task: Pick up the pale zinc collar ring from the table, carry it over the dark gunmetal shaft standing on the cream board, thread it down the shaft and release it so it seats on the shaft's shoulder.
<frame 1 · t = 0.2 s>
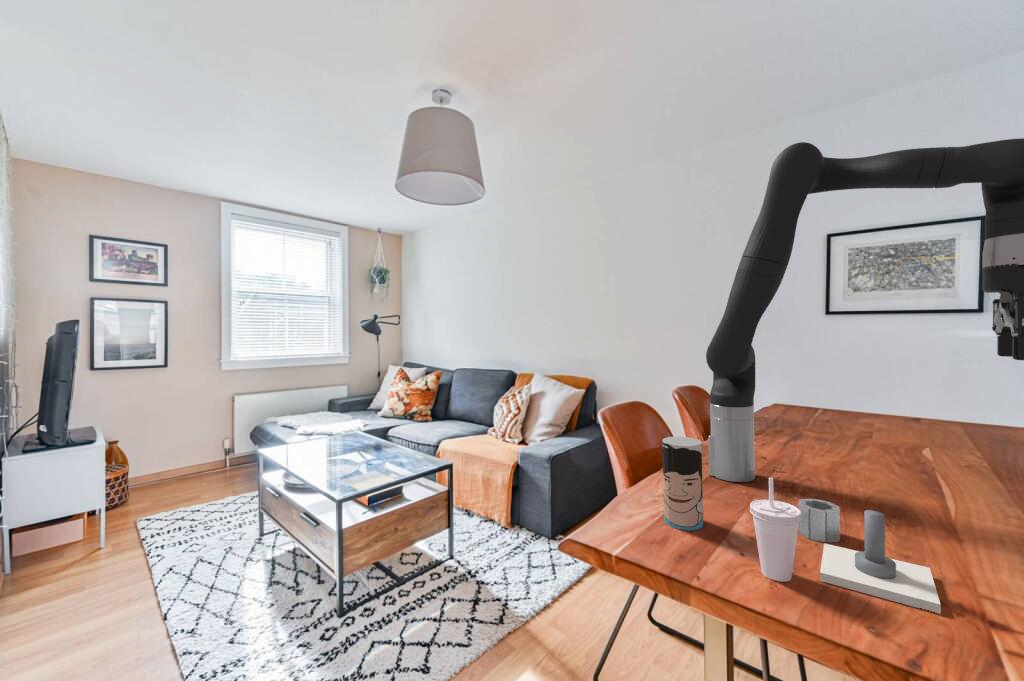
hand: (1014, 358, 74), 29 cm above the table, fingers open, 8 cm apart
shaft block: (875, 578, 60), on the table
ring: (819, 534, 73), on the table
cup: (683, 522, 79), on the table
smoothie: (776, 575, 62), on the table
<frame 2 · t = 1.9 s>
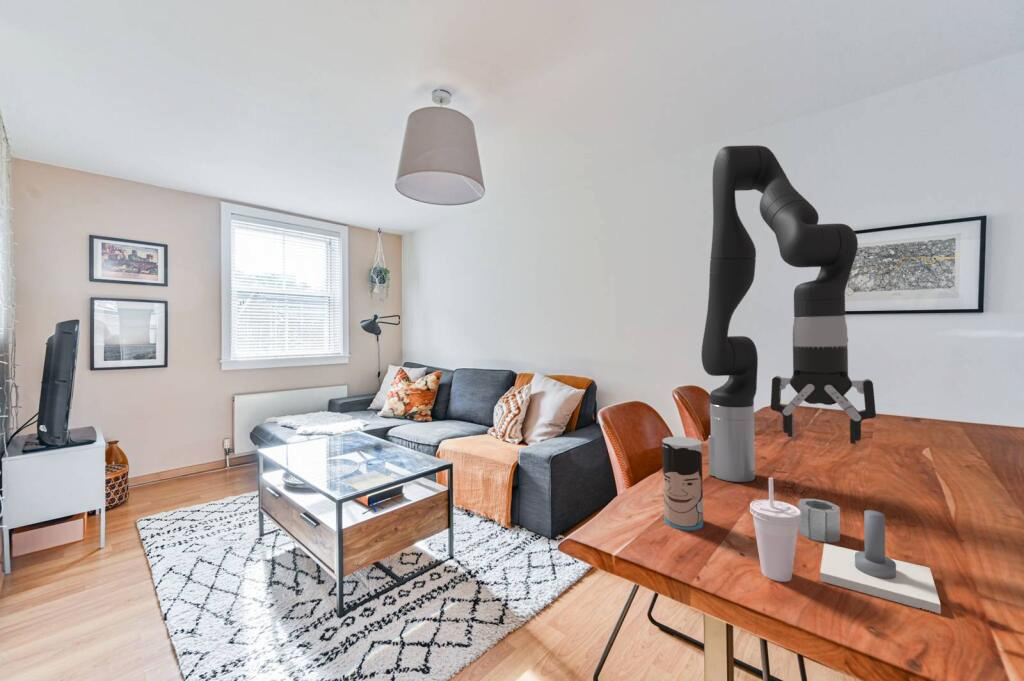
hand: (820, 439, 73), 16 cm above the table, fingers open, 8 cm apart
nothing on the table moved.
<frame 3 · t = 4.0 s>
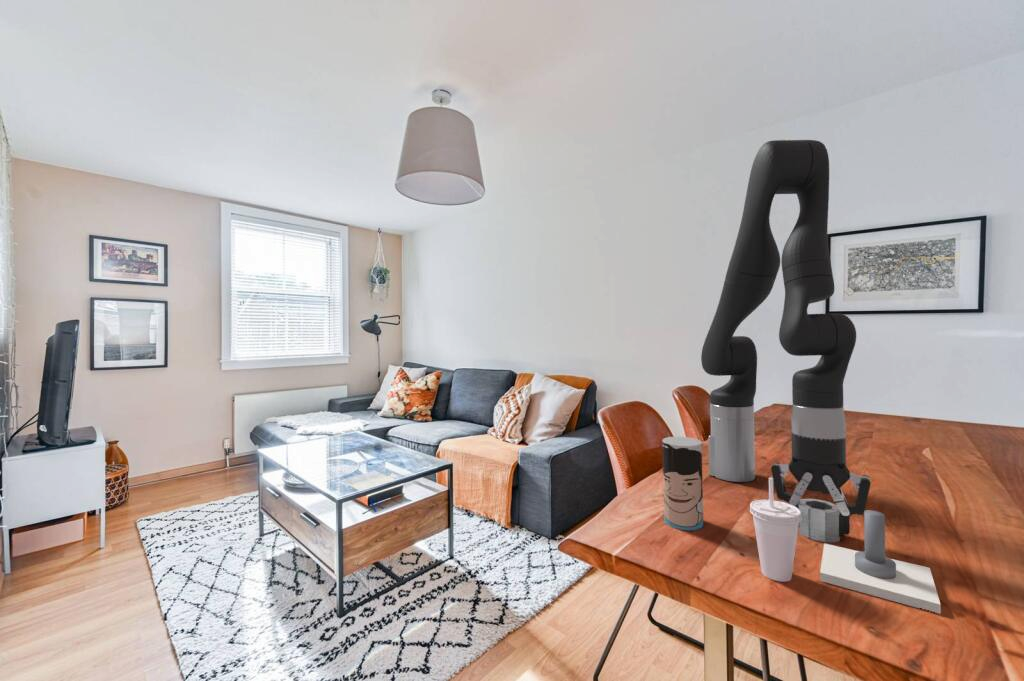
hand: (819, 530, 73), 1 cm above the table, fingers closed on ring, 5 cm apart
ring: (819, 534, 73), on the table, touching gripper
everything else where it was.
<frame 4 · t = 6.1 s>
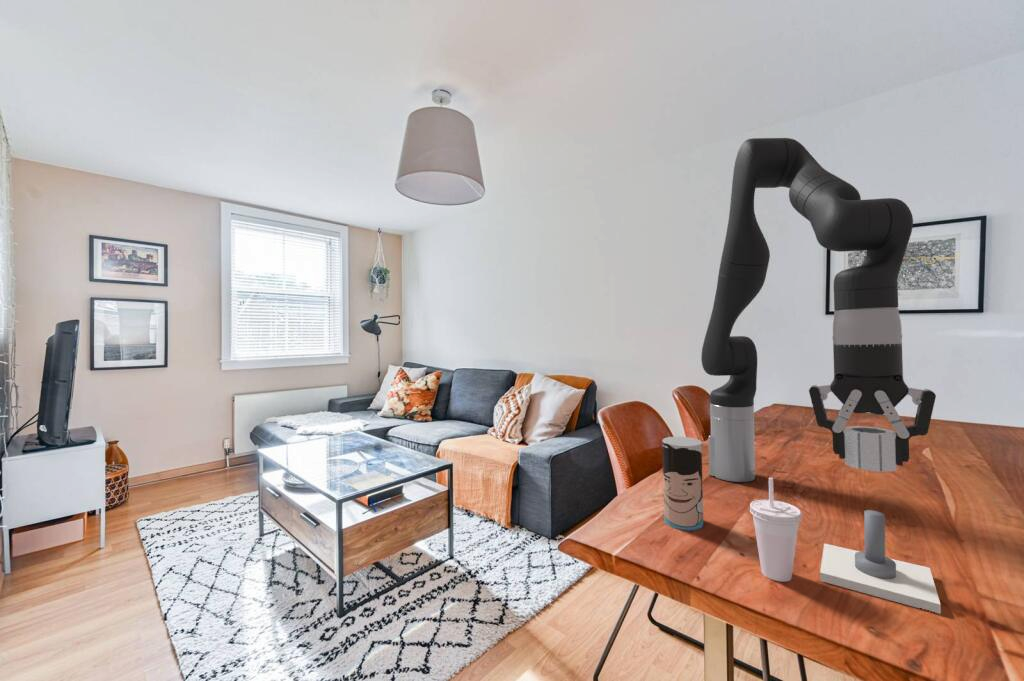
hand: (869, 460, 61), 16 cm above the table, fingers closed on ring, 5 cm apart
ring: (869, 465, 61), point 16 cm above the table, touching gripper
everything else where it was.
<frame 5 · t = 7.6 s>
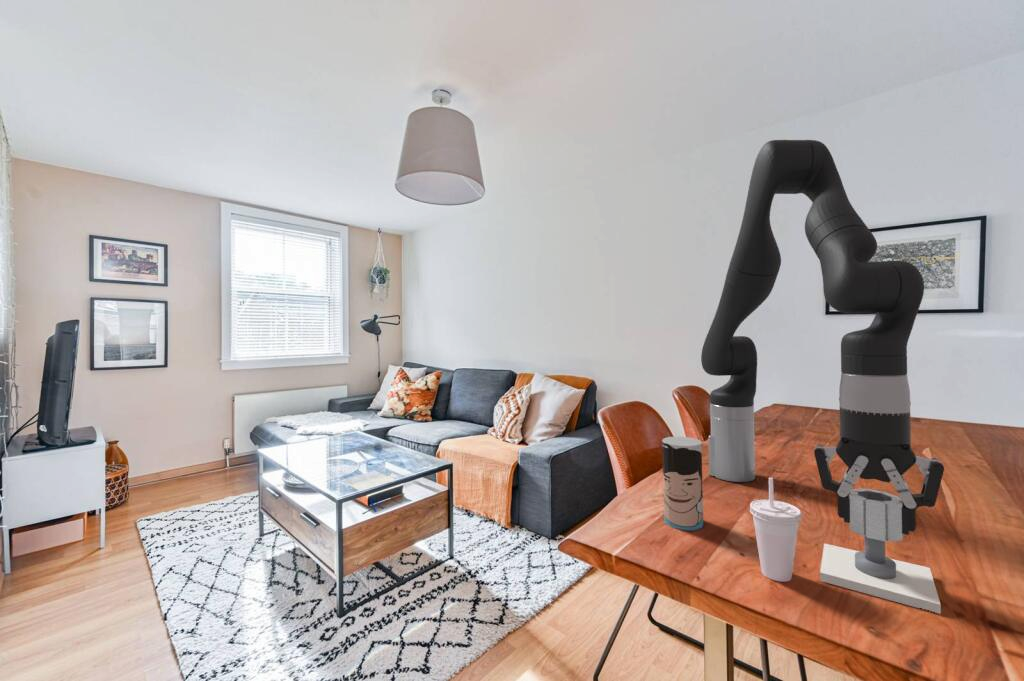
hand: (875, 526, 60), 7 cm above the table, fingers closed on ring, 5 cm apart
ring: (875, 531, 60), point 7 cm above the table, touching gripper
everything else where it was.
when the fingers open (5 cm above the table, at t = 8.5 s): ring drops 2 cm, resting on shaft block.
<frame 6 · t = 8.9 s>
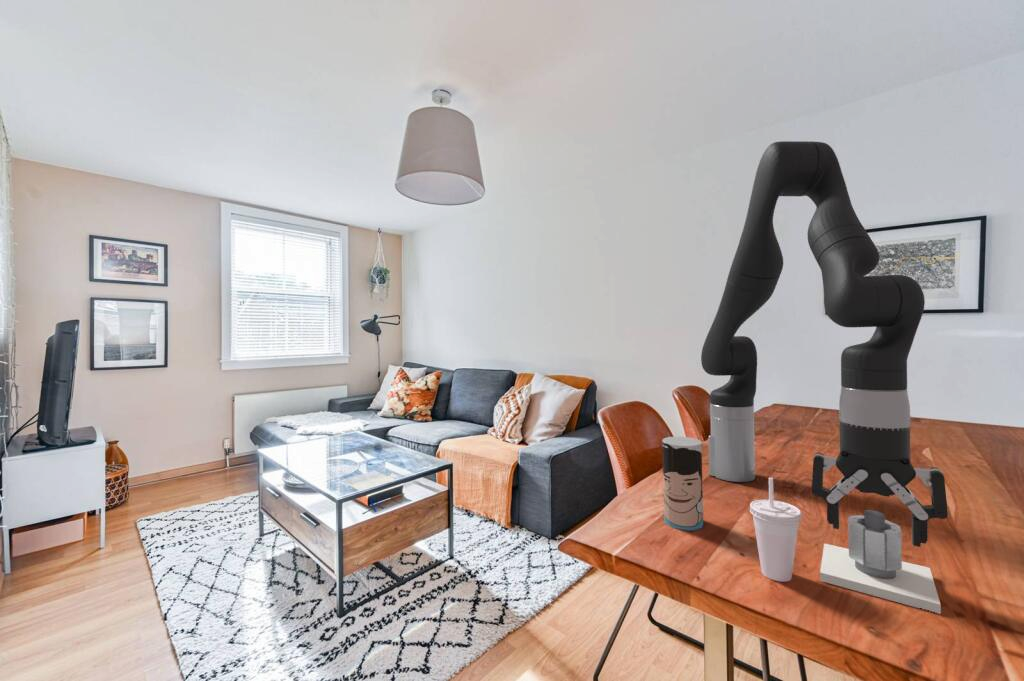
hand: (874, 535, 60), 6 cm above the table, fingers open, 8 cm apart
ring: (874, 559, 60), point 3 cm above the table, touching shaft block
everything else where it was.
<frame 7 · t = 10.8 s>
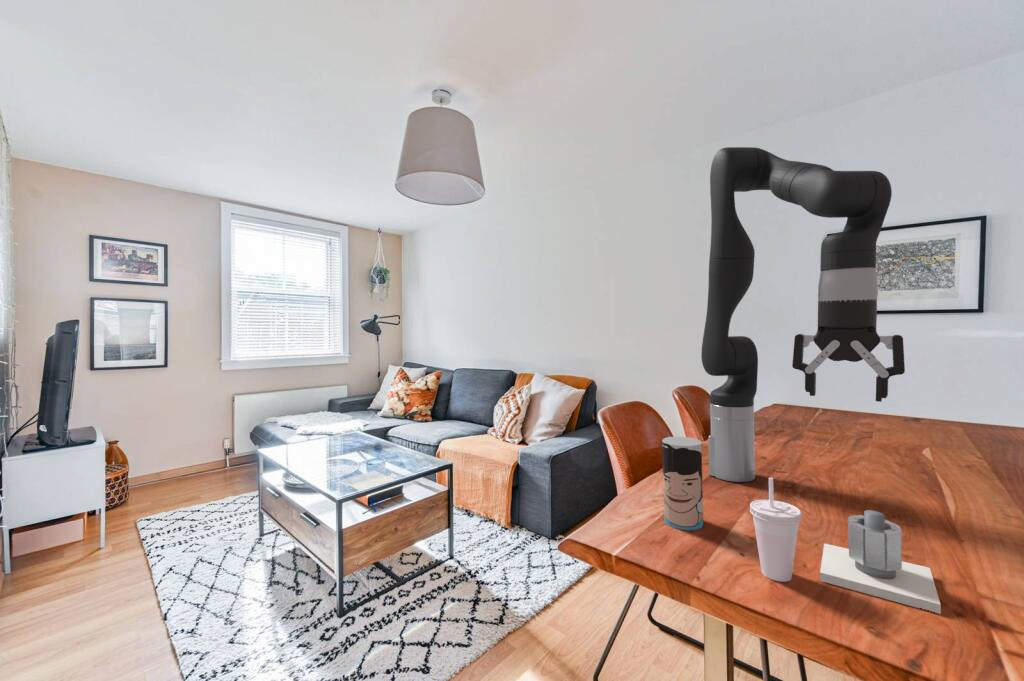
hand: (844, 397, 70), 24 cm above the table, fingers open, 8 cm apart
nothing on the table moved.
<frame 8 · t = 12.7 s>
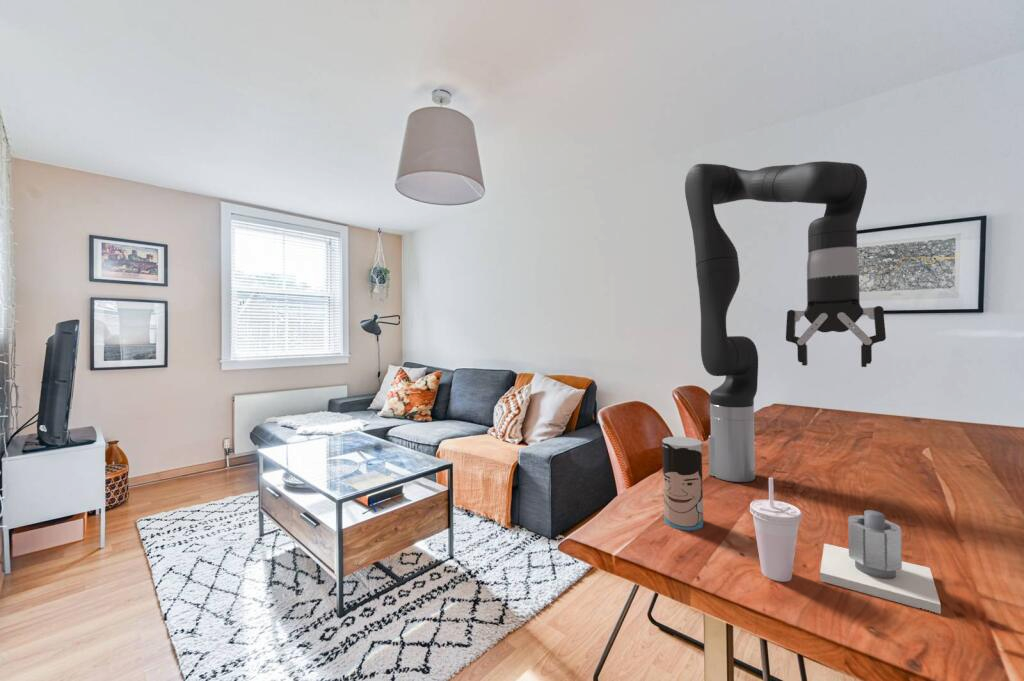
hand: (833, 365, 78), 28 cm above the table, fingers open, 8 cm apart
nothing on the table moved.
at the end: ring 0.1 cm off-centre on the shaft block, point 2.7 cm above the shaft block's base; the gripper is holding nothing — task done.
